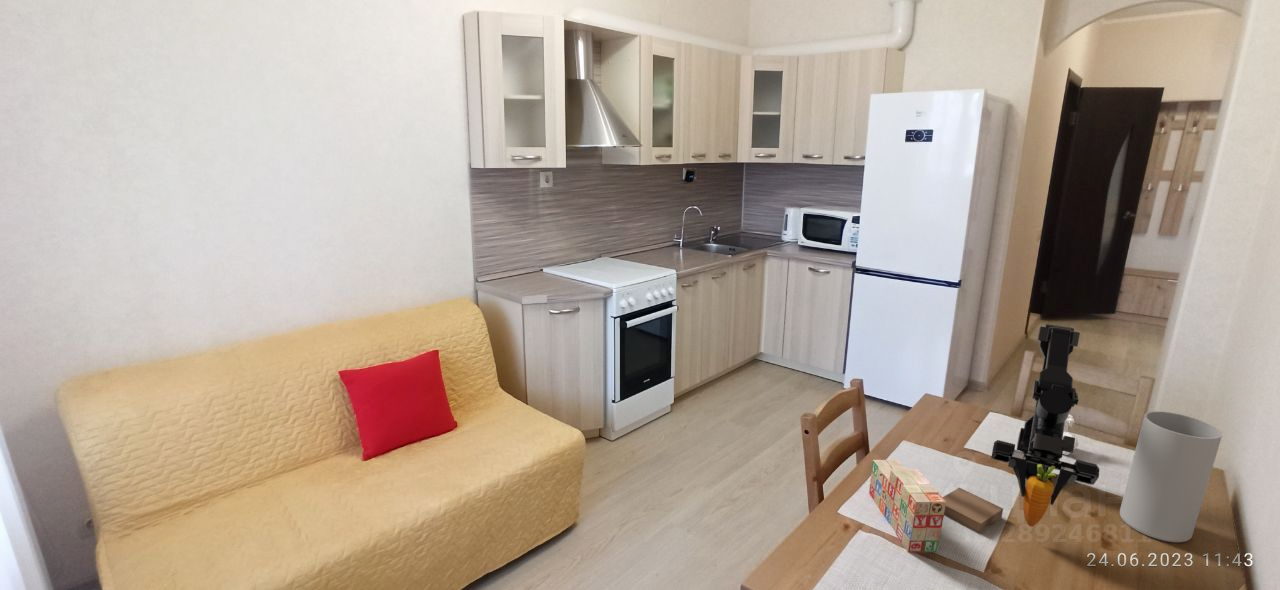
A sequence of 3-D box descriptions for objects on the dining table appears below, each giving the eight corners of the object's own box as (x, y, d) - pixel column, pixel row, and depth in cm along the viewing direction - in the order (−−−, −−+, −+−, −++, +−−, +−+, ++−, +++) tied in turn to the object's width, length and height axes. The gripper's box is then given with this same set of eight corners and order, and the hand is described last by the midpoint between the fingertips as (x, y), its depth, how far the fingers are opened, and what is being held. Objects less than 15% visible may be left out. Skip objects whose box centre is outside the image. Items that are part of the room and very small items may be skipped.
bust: (1074, 465, 163) (1099, 431, 163) (1062, 453, 160) (1087, 419, 160) (1033, 444, 174) (1056, 413, 174) (1021, 432, 171) (1044, 400, 171)
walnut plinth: (957, 496, 143) (959, 487, 143) (1001, 518, 135) (1003, 508, 135) (934, 510, 138) (936, 500, 137) (978, 533, 130) (980, 523, 129)
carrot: (1039, 521, 129) (1055, 460, 125) (1046, 536, 125) (1063, 472, 121) (1013, 516, 131) (1028, 455, 127) (1019, 530, 126) (1035, 467, 122)
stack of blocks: (867, 493, 144) (873, 447, 141) (893, 493, 144) (900, 447, 141) (908, 553, 123) (916, 501, 120) (938, 553, 124) (947, 501, 120)
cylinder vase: (1117, 527, 133) (1144, 425, 127) (1119, 502, 142) (1144, 406, 136) (1192, 552, 125) (1224, 445, 119) (1189, 524, 135) (1219, 423, 128)
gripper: (1001, 406, 129) (988, 474, 123) (1108, 430, 120) (1100, 505, 114) (997, 424, 138) (985, 489, 132) (1097, 448, 128) (1089, 519, 122)
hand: (1037, 500), depth 125 cm, fingers closed on carrot, 5 cm apart
